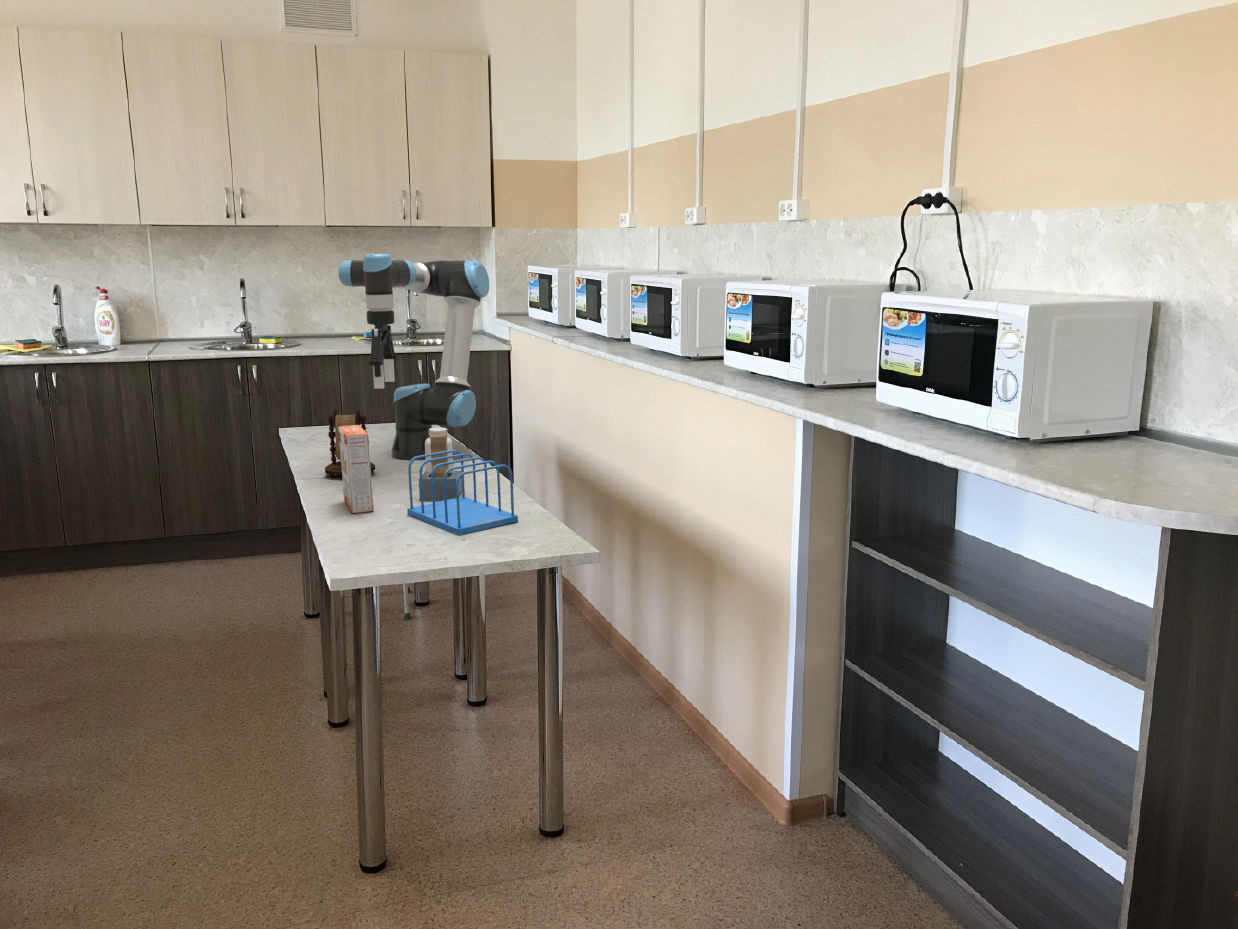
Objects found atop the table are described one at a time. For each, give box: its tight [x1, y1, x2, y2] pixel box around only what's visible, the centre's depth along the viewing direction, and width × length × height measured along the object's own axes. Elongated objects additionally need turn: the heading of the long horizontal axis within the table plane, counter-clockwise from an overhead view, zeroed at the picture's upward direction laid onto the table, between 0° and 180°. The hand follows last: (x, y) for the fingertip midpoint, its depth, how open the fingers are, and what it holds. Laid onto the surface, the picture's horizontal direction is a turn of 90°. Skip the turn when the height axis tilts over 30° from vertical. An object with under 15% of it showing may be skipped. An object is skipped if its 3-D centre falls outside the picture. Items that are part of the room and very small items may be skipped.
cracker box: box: [338, 424, 374, 514], centre depth 259 cm, size 14×6×21 cm, turn 23°
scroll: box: [324, 408, 377, 480], centre depth 296 cm, size 15×15×20 cm
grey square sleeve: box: [418, 470, 462, 502], centre depth 271 cm, size 10×10×6 cm
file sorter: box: [406, 449, 519, 536], centre depth 248 cm, size 25×17×15 cm
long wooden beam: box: [430, 433, 449, 477], centre depth 270 cm, size 3×4×16 cm
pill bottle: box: [424, 426, 454, 471], centre depth 290 cm, size 8×8×15 cm
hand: (384, 384), depth 282 cm, fingers open, 13 cm apart
